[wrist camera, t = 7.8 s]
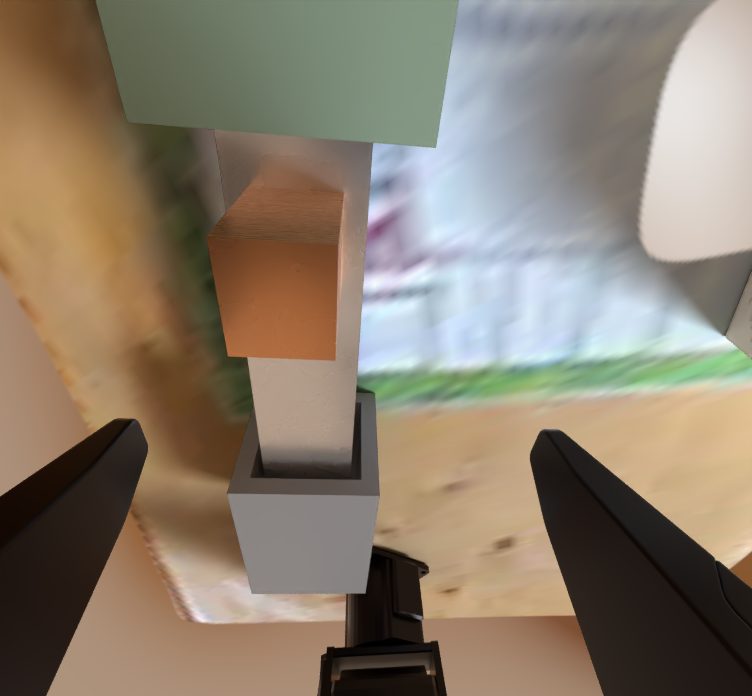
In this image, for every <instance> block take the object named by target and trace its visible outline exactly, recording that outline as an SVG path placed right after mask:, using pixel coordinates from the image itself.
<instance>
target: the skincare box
mask: <svg viewBox="0 0 752 696" xmlns="http://www.w3.org/2000/svg"><path fill="white" fill-rule="evenodd" d="M726 338H727V339H728V340H729V341H730V342H732V343H733V344H734V345H735V346H736V347H737V348H739V349H740V350H741V351H742V352H743V353H745V354H746V355H747V356H748V357H749V358H750V359H752V272H751V274H750V277H749V279H748V282H747V284H746V286H745V289H744V291H743V294H742V296H741V299H740V301H739V304H738V306H737V309H736V311H735V313H734V316H733V318H732V321H731V323H730V326H729V328H728V331H727V333H726Z"/></svg>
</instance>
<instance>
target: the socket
mask: <svg viewBox="0 0 752 696" xmlns="http://www.w3.org/2000/svg"><path fill="white" fill-rule="evenodd" d="M458 1H459V0H96V4H97V8H98V12H99V16H100V19H101V23H102V27H103V31H104V35H105V39H106V43H107V46H108V50H109V54H110V58H111V62H112V66H113V70H114V74H115V77H116V81H117V85H118V89H119V93H120V97H121V101H122V104H123V108H124V112H125V116H126V120H127V122H129V123H141V124H153V125H165V126H177V127H189V128H201V129H214V130H226V131H238V132H250V133H262V134H274V135H286V136H298V137H311V138H323V139H335V140H347V141H359V142H371V143H383V144H395V145H408V146H420V147H432V148H436V144H437V137H438V131H439V124H440V118H441V111H442V105H443V98H444V92H445V85H446V79H447V72H448V66H449V59H450V53H451V46H452V40H453V33H454V27H455V20H456V14H457V7H458Z"/></svg>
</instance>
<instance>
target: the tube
mask: <svg viewBox="0 0 752 696" xmlns="http://www.w3.org/2000/svg"><path fill="white" fill-rule="evenodd" d="M214 132H215V139H216V146H217V153H218V159H219V166H220V173H221V180H222V187H223V194H224V201H225V208H226V214H225V215H224V216H223V217H222V218H221V220H220V221H219V222H218V223H217V224H216V226H215V227H214V228H213V229H212V230H211V231H210V233H209V234H208V235H207V236H206V238H207V244H208V249H209V255H210V260H211V266H212V271H213V277H214V282H215V288H216V293H217V299H218V304H219V310H220V315H221V321H222V326H223V332H224V337H225V343H226V348H227V354H228V356H231V357H247V359H248V366H249V373H250V379H251V386H252V393H253V400H254V407H255V414H256V421H257V428H258V434H259V441H260V448H261V455H262V462H263V469H264V476H265V478H281V479H335V480H350V475H351V460H352V445H353V430H354V415H355V400H356V385H357V370H358V355H359V341H360V326H361V311H362V296H363V281H364V266H365V251H366V236H367V221H368V206H369V191H370V177H371V162H372V147H373V143H371V142H359V141H347V140H335V139H323V138H311V137H298V136H286V135H274V134H262V133H250V132H238V131H226V130H214Z"/></svg>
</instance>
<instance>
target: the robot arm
mask: <svg viewBox="0 0 752 696" xmlns="http://www.w3.org/2000/svg"><path fill="white" fill-rule="evenodd" d="M147 452H148V444H147V441H146V439H145V436H144V433H143V431H142V428H141V426H140V423H139V422H138V421H137V420H136V419H124V418H118V419H114V420H112V421H111V422H109V423H108V424H106V425H105V426H103V427H102V428H100V429H99V430H97V431H96V432H95V433H93V434H92V435H90V436H89V437H87V438H86V439H84V440H83V441H81V442H80V443H78V444H77V445H75V446H74V447H72V448H71V449H69V450H68V451H67V452H65V453H64V454H62V455H61V456H59V457H58V458H56V459H55V460H54V461H52V462H50V463H49V464H47V465H46V466H44V467H43V468H41V469H40V470H39V471H37V472H36V473H34V474H33V475H31V476H30V477H28V478H27V479H25V480H24V481H22V482H21V483H19V484H18V485H16V486H15V487H14V488H12V489H11V490H9V491H8V492H6V493H5V494H3V495H2V496H0V696H46V695H47V693H48V691H49V688H50V686H51V684H52V682H53V680H54V677H55V675H56V673H57V671H58V669H59V666H60V664H61V662H62V660H63V657H64V655H65V653H66V651H67V649H68V646H69V644H70V642H71V640H72V638H73V635H74V633H75V631H76V629H77V627H78V624H79V622H80V620H81V618H82V615H83V613H84V611H85V609H86V607H87V604H88V602H89V600H90V598H91V596H92V593H93V591H94V589H95V587H96V585H97V582H98V580H99V578H100V576H101V573H102V571H103V569H104V567H105V565H106V562H107V560H108V558H109V556H110V553H111V552H112V549H113V547H114V545H115V543H116V540H117V538H118V536H119V534H120V531H121V529H122V527H123V525H124V522H125V520H126V517H127V514H128V511H129V508H130V505H131V502H132V499H133V496H134V493H135V490H136V487H137V484H138V481H139V478H140V475H141V472H142V469H143V466H144V463H145V459H146V456H147ZM530 463H531V467H532V472H533V476H534V480H535V485H536V489H537V493H538V498H539V502H540V506H541V511H542V515H543V519H544V523H545V526H546V529H547V532H548V536H549V539H550V541H551V544H552V547H553V550H554V553H555V556H556V559H557V562H558V565H559V567H560V570H561V573H562V576H563V579H564V582H565V585H566V588H567V591H568V594H569V596H570V599H571V602H572V605H573V608H574V611H575V614H576V617H577V620H578V623H579V625H580V628H581V631H582V634H583V637H584V640H585V643H586V646H587V649H588V651H589V654H590V657H591V660H592V663H593V666H594V669H595V672H596V675H597V678H598V680H599V683H600V686H601V689H602V692H603V695H604V696H752V588H751V587H750V586H749V585H747V584H746V583H745V582H744V581H743V580H741V579H740V578H739V577H737V576H736V575H735V574H734V573H733V572H732V571H730V570H729V569H728V568H727V567H726V566H724V565H723V564H722V563H721V562H719V561H715V558H714V557H713V556H712V555H711V554H710V553H708V552H707V551H706V550H705V549H704V548H702V547H701V546H700V545H699V544H698V543H696V542H695V541H694V540H693V539H692V538H690V537H689V536H688V535H687V534H686V533H684V532H683V531H682V530H681V529H680V528H678V527H677V526H676V525H675V524H674V523H672V522H671V521H670V520H669V519H667V518H666V517H665V516H664V515H663V514H661V513H660V512H659V511H658V510H657V509H655V508H654V507H653V506H652V505H651V504H649V503H648V502H647V501H646V500H645V499H643V498H642V497H641V496H640V495H639V494H637V493H636V492H635V491H634V490H633V489H631V488H630V487H629V486H628V485H626V484H625V483H624V482H623V481H622V480H620V479H619V478H618V477H617V476H616V475H614V474H613V473H612V472H611V471H610V470H608V469H607V468H606V467H605V466H604V465H602V464H601V463H600V462H599V461H598V460H596V459H595V458H594V457H593V456H591V455H590V454H589V453H588V452H587V451H585V450H584V449H583V448H582V447H581V446H579V445H578V444H577V443H576V442H575V441H573V440H572V439H571V438H570V437H569V436H567V435H566V434H565V433H564V432H562V431H561V430H557V429H543V430H542V431H540V433H539V435H538V437H537V439H536V441H535V443H534V446H533V448H532V450H531V453H530ZM428 573H429V567H428V566H427V565H424V564H421V563H418V562H415V561H412V560H409V559H406V558H403V557H400V556H397V555H394V554H391V553H388V552H385V551H382V550H379V549H372V552H371V559H370V565H369V572H368V579H367V586H366V593H349V594H346V624H345V647H343V648H334V647H327V653H326V654H323V655H322V656H321V669H320V670H321V671H320V681H319V688H318V694H317V696H447V694H446V688H445V682H444V676H443V669H442V664H441V657H440V651H439V645H438V641H431V642H430V643H424V638H423V630H422V620H423V608H422V599H421V590H420V582H419V579H420V578H422V577H423V576H425V575H427V574H428ZM427 670H430V674H429V675H427V673H426V671H427Z"/></svg>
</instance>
